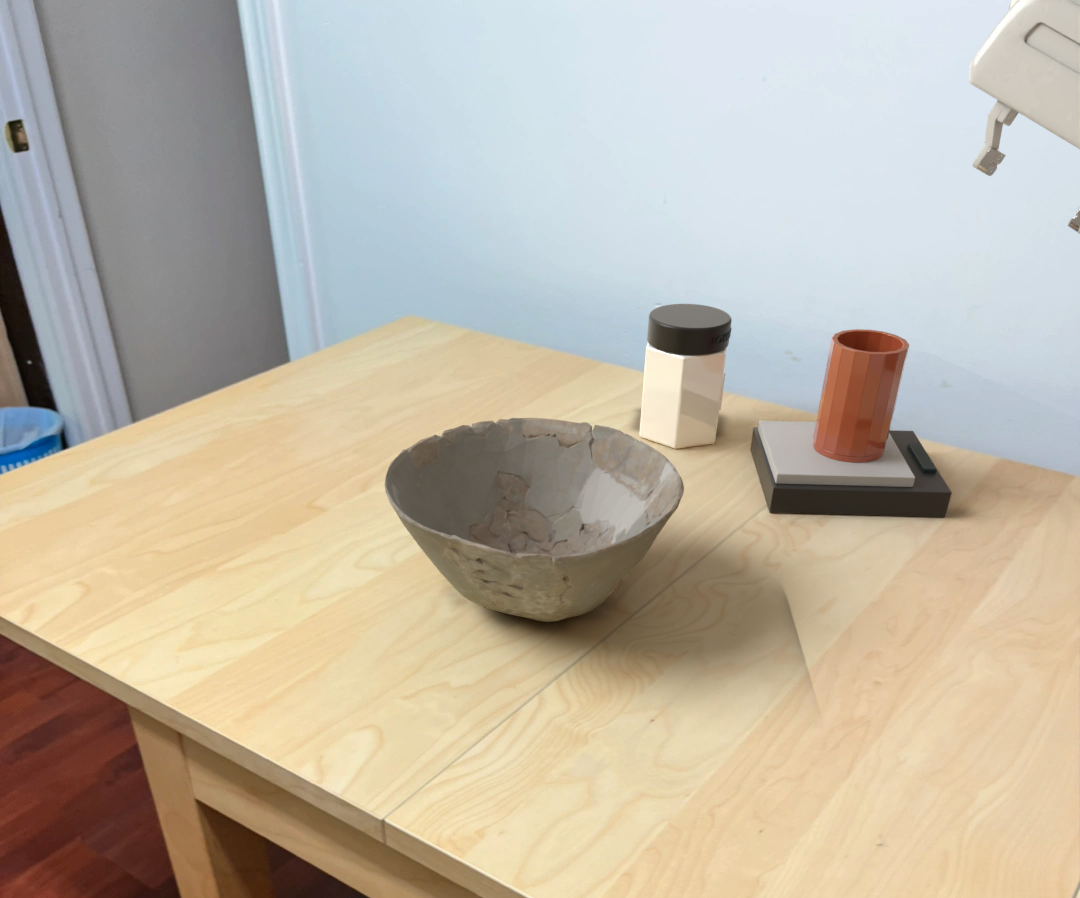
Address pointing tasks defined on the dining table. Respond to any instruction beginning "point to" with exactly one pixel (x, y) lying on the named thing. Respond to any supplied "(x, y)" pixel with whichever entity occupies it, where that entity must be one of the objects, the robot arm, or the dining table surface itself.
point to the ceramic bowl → (534, 511)
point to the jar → (684, 374)
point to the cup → (859, 394)
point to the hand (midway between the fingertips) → (1028, 200)
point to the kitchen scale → (845, 476)
